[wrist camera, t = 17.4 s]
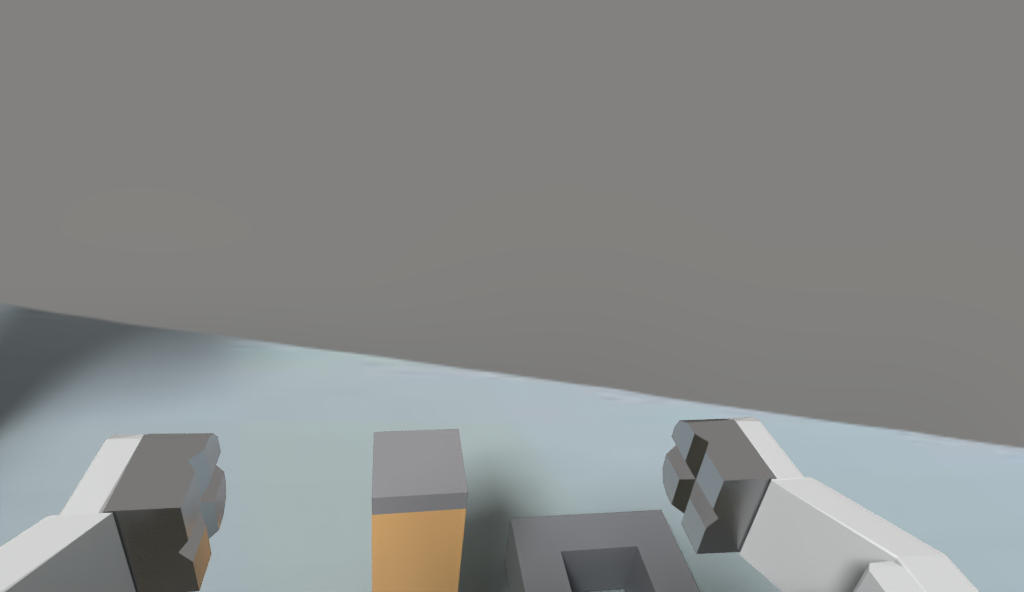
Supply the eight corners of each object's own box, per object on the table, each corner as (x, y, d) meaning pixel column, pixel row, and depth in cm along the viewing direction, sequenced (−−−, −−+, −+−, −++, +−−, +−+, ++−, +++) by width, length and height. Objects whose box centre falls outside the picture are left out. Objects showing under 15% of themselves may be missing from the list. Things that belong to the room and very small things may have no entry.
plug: (372, 688, 31) (371, 497, 25) (374, 616, 35) (373, 432, 28) (449, 678, 32) (467, 492, 26) (443, 609, 36) (458, 428, 29)
